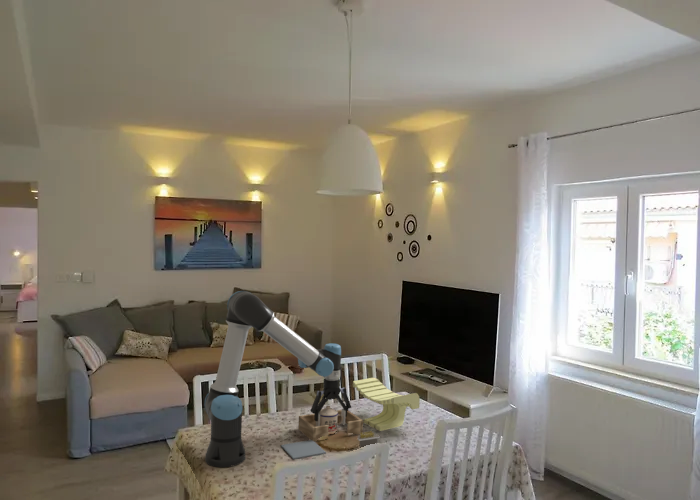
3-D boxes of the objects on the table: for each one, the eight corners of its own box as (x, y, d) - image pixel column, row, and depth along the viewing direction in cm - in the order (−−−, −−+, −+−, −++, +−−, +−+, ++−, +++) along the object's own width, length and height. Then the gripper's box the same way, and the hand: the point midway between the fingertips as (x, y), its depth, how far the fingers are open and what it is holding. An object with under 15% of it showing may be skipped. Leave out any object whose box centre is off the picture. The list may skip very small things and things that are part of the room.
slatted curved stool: (418, 430, 236) (419, 391, 236) (392, 437, 226) (394, 397, 226) (377, 411, 260) (378, 376, 260) (352, 417, 250) (353, 381, 250)
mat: (293, 459, 200) (293, 458, 200) (281, 446, 213) (281, 444, 213) (325, 453, 207) (325, 452, 207) (312, 441, 219) (312, 439, 219)
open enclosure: (312, 442, 218) (313, 428, 218) (298, 429, 233) (298, 415, 232) (362, 433, 229) (363, 420, 229) (346, 421, 244) (346, 409, 244)
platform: (341, 445, 216) (342, 430, 216) (379, 440, 224) (379, 425, 224) (354, 457, 205) (354, 441, 205) (393, 450, 213) (393, 435, 213)
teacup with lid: (322, 436, 224) (322, 410, 224) (314, 429, 232) (315, 404, 232) (346, 433, 230) (347, 407, 229) (338, 426, 238) (338, 401, 237)
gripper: (310, 383, 222) (309, 432, 222) (359, 377, 233) (358, 424, 233) (303, 379, 228) (302, 427, 229) (351, 373, 239) (350, 419, 240)
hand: (330, 426), depth 231 cm, fingers closed on teacup with lid, 12 cm apart
